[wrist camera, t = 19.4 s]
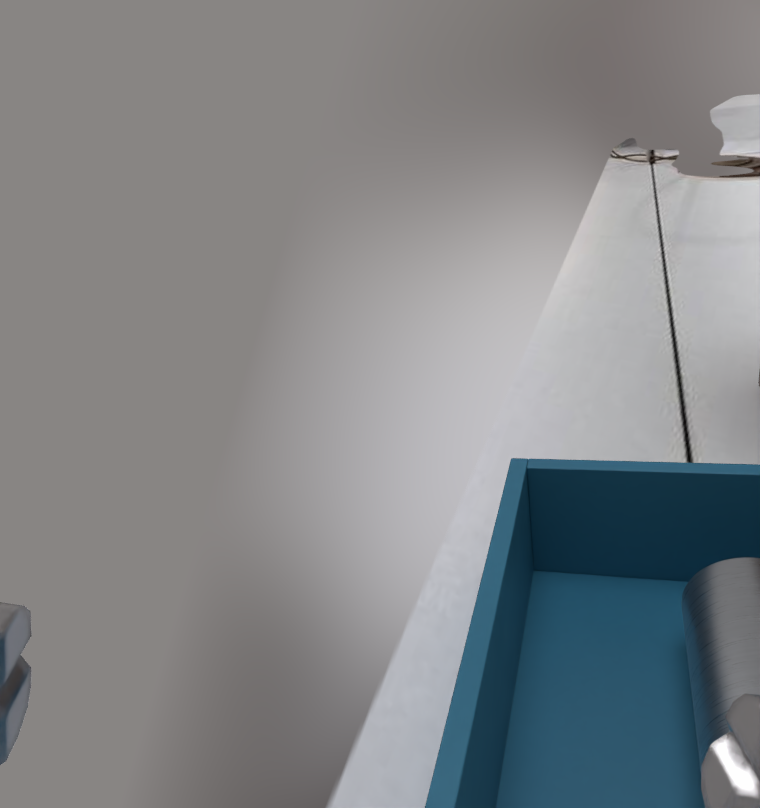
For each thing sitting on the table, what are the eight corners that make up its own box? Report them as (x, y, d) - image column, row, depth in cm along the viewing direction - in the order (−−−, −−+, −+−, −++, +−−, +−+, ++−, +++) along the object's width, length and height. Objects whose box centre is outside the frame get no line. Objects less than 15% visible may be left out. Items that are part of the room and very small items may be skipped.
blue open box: (372, 1376, 15) (311, 1263, 12) (520, 571, 37) (511, 457, 34) (1225, 1769, 11) (1461, 1749, 8) (826, 594, 32) (847, 466, 29)
